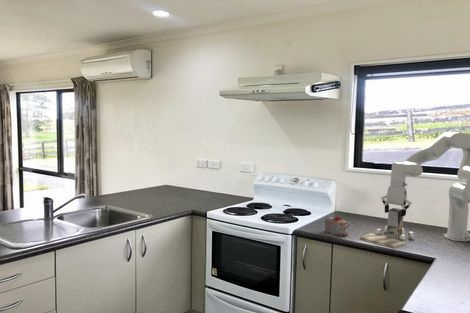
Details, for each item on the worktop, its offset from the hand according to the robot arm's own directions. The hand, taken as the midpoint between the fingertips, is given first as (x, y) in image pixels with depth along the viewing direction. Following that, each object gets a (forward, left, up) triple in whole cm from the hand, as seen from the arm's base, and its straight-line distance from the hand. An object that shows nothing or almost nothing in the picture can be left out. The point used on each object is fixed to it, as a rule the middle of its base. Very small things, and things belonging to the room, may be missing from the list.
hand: (394, 214), depth 218 cm
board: (0, +13, -13) cm, 18 cm away
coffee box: (0, 0, -14) cm, 14 cm away
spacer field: (0, -2, -13) cm, 14 cm away
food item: (+24, +20, -14) cm, 34 cm away
